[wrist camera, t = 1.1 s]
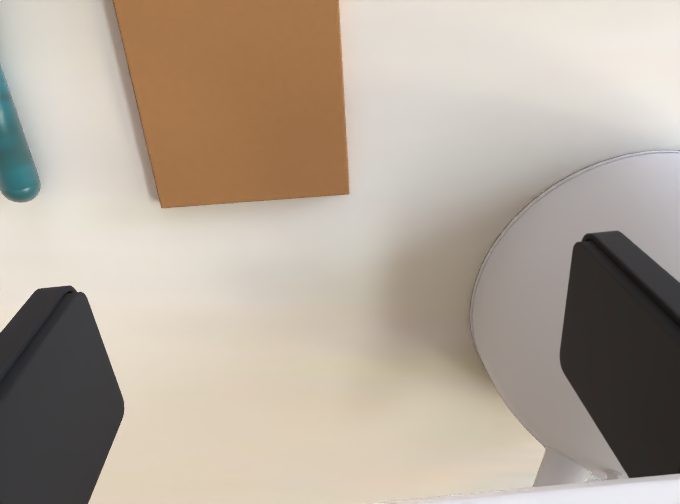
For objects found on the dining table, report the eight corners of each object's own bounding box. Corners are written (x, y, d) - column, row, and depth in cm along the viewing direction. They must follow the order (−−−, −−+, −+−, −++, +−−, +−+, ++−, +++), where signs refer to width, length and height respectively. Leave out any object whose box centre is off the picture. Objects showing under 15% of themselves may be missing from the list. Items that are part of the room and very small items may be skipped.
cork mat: (75, -183, 26) (68, -187, 25) (326, -199, 26) (327, -204, 26) (164, 203, 36) (161, 208, 35) (348, 189, 36) (349, 194, 35)
